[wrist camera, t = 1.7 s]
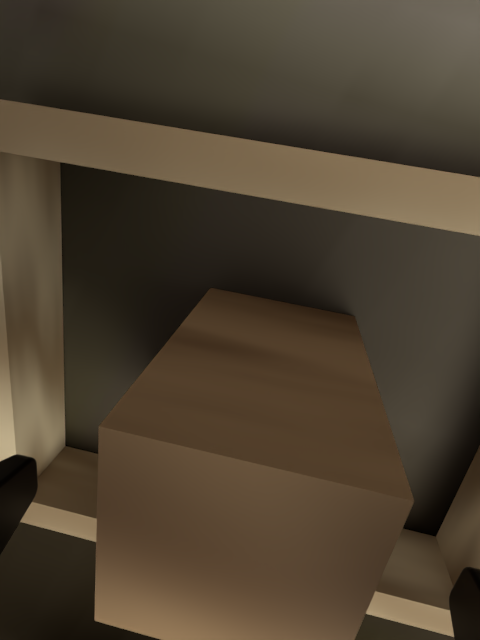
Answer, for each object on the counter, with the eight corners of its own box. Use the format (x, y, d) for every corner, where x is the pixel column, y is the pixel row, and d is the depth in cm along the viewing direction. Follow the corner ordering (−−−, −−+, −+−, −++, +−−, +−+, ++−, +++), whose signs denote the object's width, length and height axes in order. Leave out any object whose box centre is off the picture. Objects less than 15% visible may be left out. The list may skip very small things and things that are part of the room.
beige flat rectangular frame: (455, 564, 16) (486, 645, 14) (41, 460, 18) (-8, 514, 15) (643, 209, 11) (759, 222, 8) (23, 107, 12) (-57, 89, 10)
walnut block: (320, 435, 15) (333, 688, 8) (195, 406, 16) (94, 620, 8) (354, 316, 13) (413, 501, 6) (210, 287, 14) (98, 426, 6)
